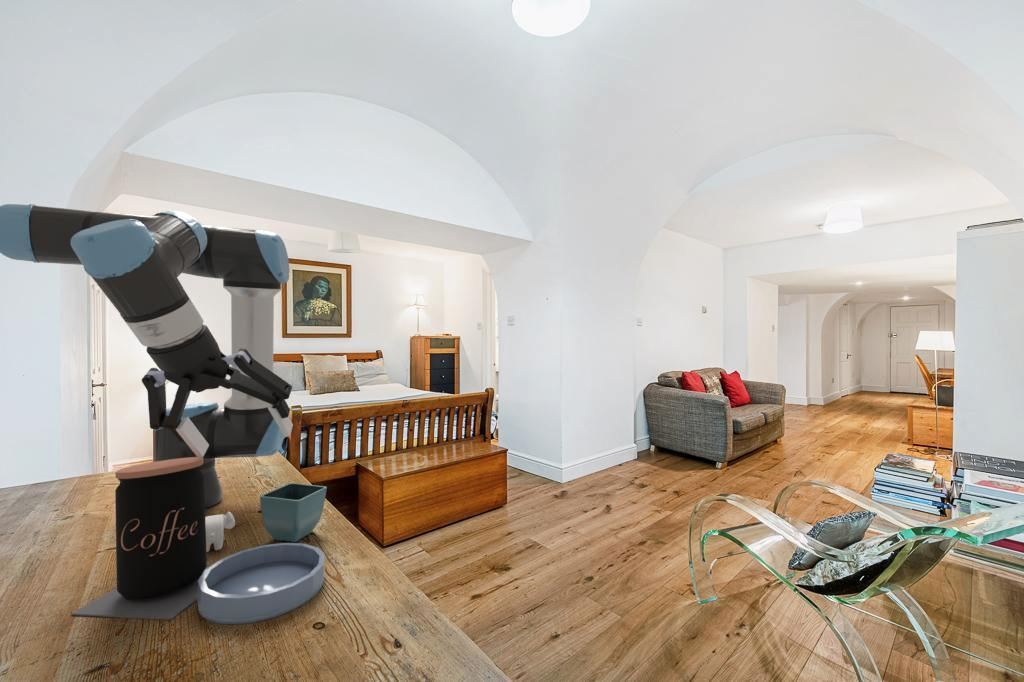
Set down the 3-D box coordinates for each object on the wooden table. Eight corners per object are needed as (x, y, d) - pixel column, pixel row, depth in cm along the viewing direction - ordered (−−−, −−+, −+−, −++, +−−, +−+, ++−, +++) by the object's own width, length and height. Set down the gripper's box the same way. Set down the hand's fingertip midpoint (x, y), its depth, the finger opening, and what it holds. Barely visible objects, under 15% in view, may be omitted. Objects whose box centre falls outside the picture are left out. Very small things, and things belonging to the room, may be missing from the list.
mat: (159, 564, 72) (159, 563, 72) (239, 568, 72) (239, 567, 72) (71, 615, 58) (71, 613, 58) (170, 620, 58) (171, 618, 58)
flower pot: (296, 549, 79) (298, 500, 80) (256, 543, 81) (258, 495, 81) (326, 530, 88) (328, 486, 88) (289, 525, 90) (290, 482, 90)
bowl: (247, 561, 74) (247, 541, 74) (341, 565, 74) (342, 545, 74) (166, 621, 58) (168, 594, 58) (287, 627, 57) (288, 600, 57)
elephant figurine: (234, 535, 84) (235, 504, 85) (233, 551, 78) (235, 518, 78) (191, 542, 81) (193, 510, 81) (187, 560, 74) (189, 525, 74)
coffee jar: (104, 611, 58) (103, 476, 59) (130, 580, 67) (128, 464, 69) (200, 587, 63) (197, 463, 64) (212, 561, 72) (209, 454, 74)
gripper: (59, 371, 55) (156, 478, 66) (261, 328, 58) (320, 438, 69) (94, 341, 61) (176, 443, 73) (274, 303, 64) (326, 408, 76)
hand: (247, 441), depth 71 cm, fingers open, 13 cm apart
